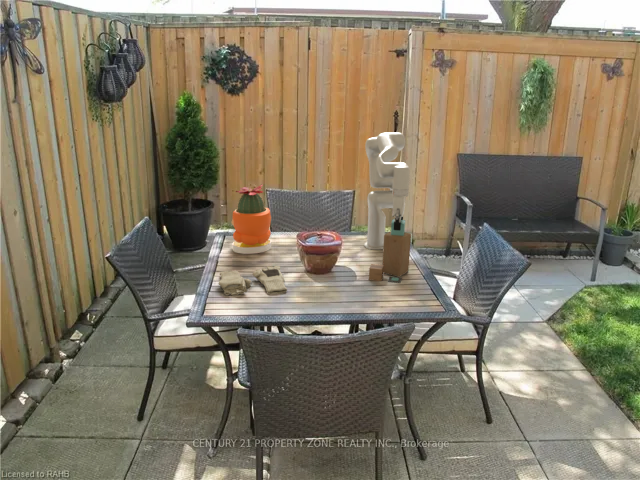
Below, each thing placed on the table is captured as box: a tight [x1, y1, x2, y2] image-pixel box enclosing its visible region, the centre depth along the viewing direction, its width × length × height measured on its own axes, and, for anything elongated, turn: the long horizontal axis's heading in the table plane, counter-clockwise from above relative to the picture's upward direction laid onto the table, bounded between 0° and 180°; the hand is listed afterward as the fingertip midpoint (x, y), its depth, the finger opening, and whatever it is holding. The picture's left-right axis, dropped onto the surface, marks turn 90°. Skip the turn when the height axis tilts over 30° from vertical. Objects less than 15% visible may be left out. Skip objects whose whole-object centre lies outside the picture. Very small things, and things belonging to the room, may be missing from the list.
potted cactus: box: [231, 184, 272, 255], centre depth 287 cm, size 22×22×35 cm
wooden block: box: [381, 231, 412, 278], centre depth 261 cm, size 10×10×20 cm
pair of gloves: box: [218, 265, 288, 297], centre depth 247 cm, size 30×26×5 cm
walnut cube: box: [368, 263, 384, 282], centre depth 255 cm, size 6×6×6 cm
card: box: [387, 275, 403, 284], centre depth 254 cm, size 6×6×1 cm
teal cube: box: [390, 218, 406, 236], centre depth 257 cm, size 6×6×6 cm
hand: (398, 227), depth 257 cm, fingers open, 9 cm apart
